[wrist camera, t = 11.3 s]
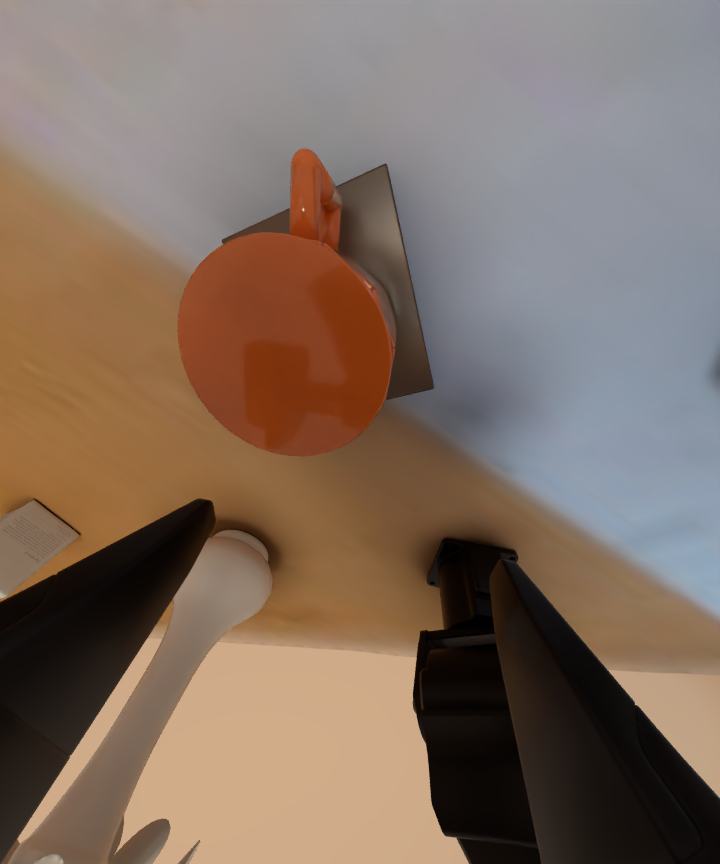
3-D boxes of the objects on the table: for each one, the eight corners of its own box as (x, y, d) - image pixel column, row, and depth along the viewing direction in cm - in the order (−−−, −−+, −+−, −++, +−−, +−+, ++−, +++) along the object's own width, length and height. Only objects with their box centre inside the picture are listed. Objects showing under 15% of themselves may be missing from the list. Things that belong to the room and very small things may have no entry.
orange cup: (382, 404, 17) (372, 471, 11) (266, 384, 17) (191, 438, 11) (418, 210, 13) (436, 135, 6) (264, 188, 13) (141, 97, 7)
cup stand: (432, 382, 19) (452, 465, 11) (308, 412, 21) (251, 498, 13) (387, 169, 14) (365, 51, 6) (232, 241, 16) (74, 221, 8)
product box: (34, 497, 31) (-60, 557, 25) (82, 534, 33) (7, 598, 27) (8, 511, 33) (-86, 570, 27) (54, 546, 35) (-21, 607, 29)
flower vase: (211, 595, 36) (-70, 1077, 15) (159, 480, 27) (-809, 1339, 5) (312, 609, 35) (162, 1171, 13) (295, 493, 25) (-307, 1755, 4)
